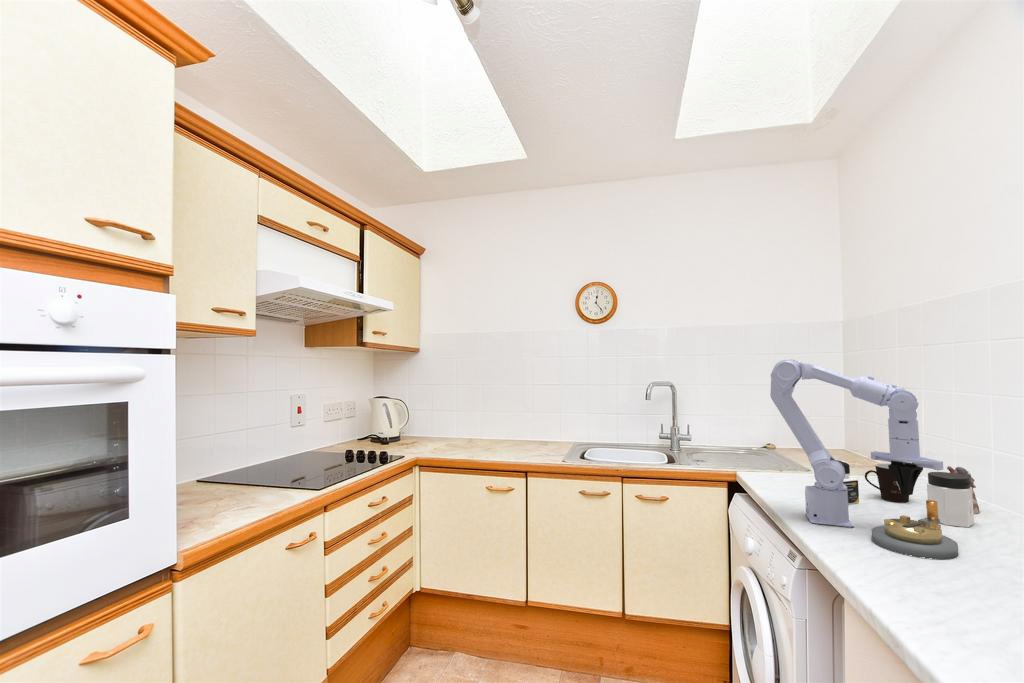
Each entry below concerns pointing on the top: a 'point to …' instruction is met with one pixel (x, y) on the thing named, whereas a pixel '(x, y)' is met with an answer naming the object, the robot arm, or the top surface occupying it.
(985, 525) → the top surface
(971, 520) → the jar
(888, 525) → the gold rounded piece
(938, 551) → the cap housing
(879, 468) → the coffee mug
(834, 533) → the top surface
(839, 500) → the robot arm
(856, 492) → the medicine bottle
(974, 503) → the figurine
